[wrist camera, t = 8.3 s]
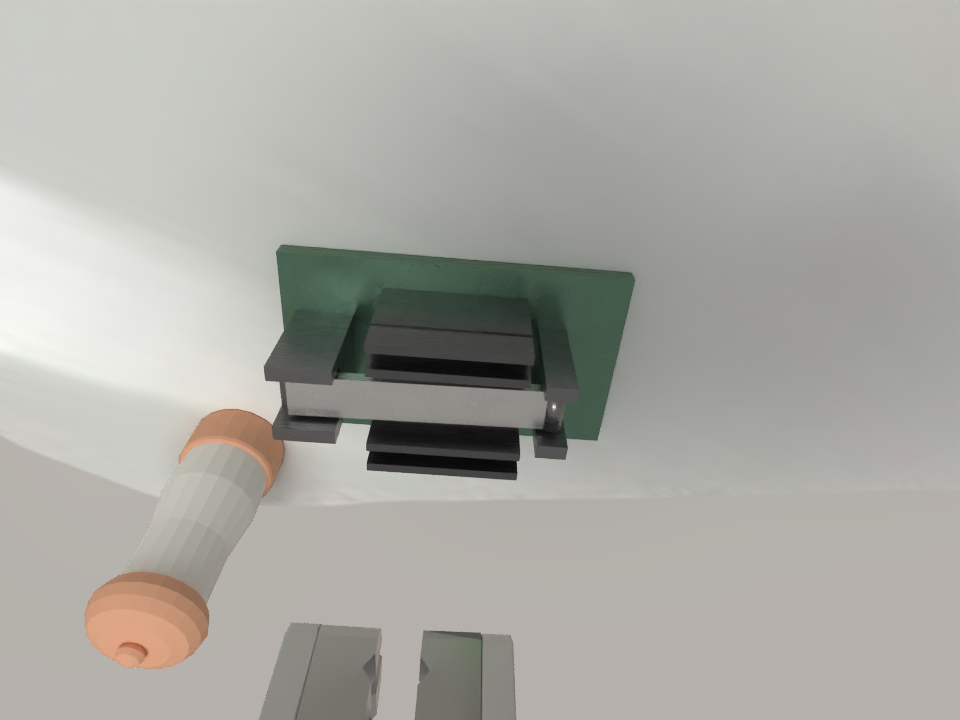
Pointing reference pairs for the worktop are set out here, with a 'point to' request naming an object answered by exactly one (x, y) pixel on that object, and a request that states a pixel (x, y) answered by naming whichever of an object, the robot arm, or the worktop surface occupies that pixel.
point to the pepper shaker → (186, 544)
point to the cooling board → (448, 348)
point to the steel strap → (425, 402)
